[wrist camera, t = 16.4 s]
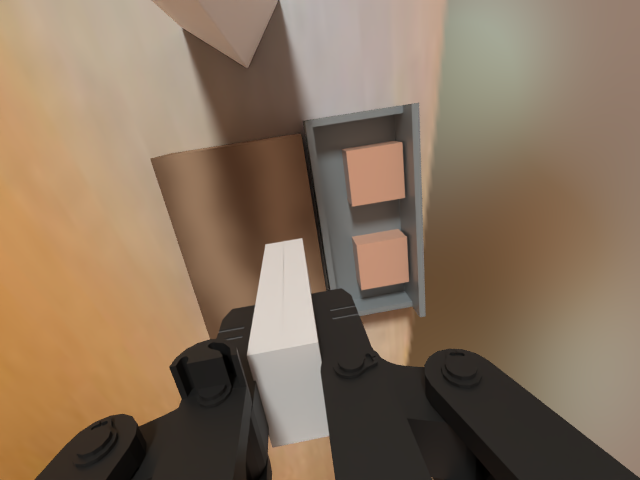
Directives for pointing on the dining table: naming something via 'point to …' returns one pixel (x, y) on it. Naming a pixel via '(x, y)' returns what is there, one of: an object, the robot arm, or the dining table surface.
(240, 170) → the brown flat block
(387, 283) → the tile
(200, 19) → the milk
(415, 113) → the tray
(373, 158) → the tile
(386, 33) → the dining table surface
